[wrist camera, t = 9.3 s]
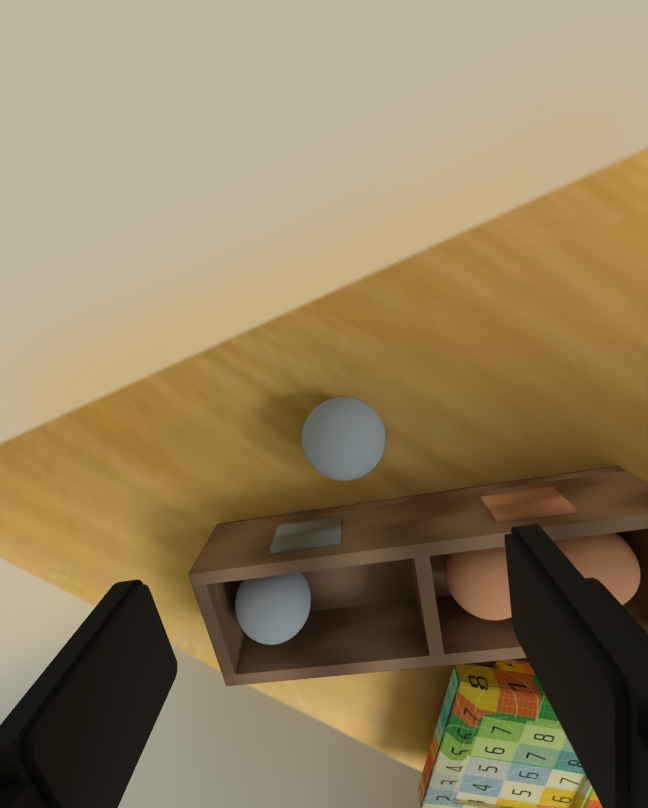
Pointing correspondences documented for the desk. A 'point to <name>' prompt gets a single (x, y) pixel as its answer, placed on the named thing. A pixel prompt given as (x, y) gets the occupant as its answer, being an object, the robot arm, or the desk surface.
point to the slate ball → (343, 438)
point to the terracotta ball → (480, 582)
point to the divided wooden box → (400, 573)
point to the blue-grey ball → (273, 607)
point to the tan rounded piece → (605, 562)
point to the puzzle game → (501, 745)
